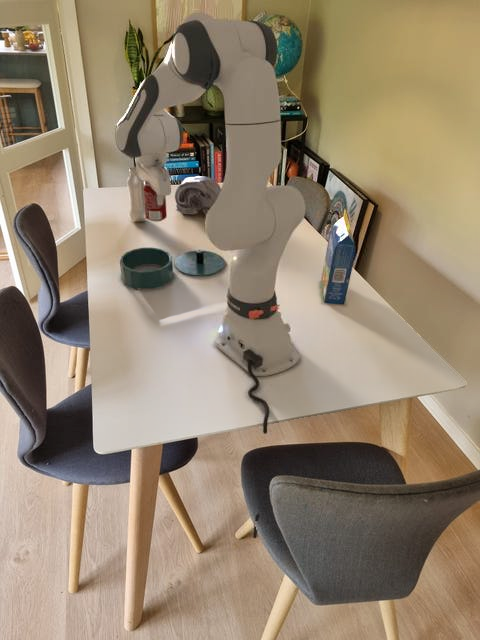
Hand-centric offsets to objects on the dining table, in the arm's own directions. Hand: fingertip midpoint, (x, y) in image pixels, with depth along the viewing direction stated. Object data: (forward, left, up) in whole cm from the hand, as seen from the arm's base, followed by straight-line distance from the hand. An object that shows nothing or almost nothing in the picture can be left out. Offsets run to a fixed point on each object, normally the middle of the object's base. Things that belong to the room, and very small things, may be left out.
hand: (155, 200), depth 143 cm
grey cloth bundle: (+26, -28, -19) cm, 43 cm away
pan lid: (-14, -9, -18) cm, 25 cm away
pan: (-14, +9, -19) cm, 25 cm away
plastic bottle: (+28, -3, -19) cm, 34 cm away
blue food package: (-47, -38, -19) cm, 63 cm away
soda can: (0, 0, -6) cm, 7 cm away
